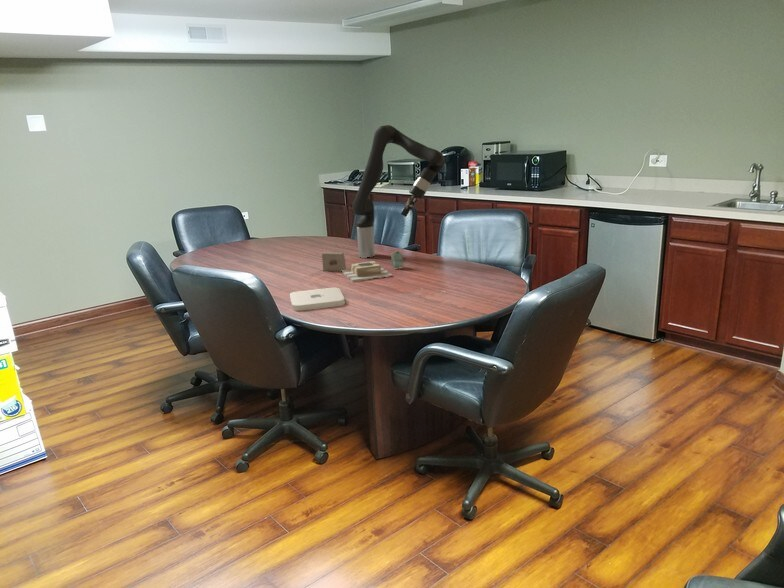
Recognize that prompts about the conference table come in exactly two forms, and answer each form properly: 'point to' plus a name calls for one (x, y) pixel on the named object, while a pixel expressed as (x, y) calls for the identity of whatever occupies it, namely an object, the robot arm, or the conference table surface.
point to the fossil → (333, 261)
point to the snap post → (397, 259)
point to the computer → (316, 299)
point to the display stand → (365, 271)
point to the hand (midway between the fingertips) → (403, 215)
